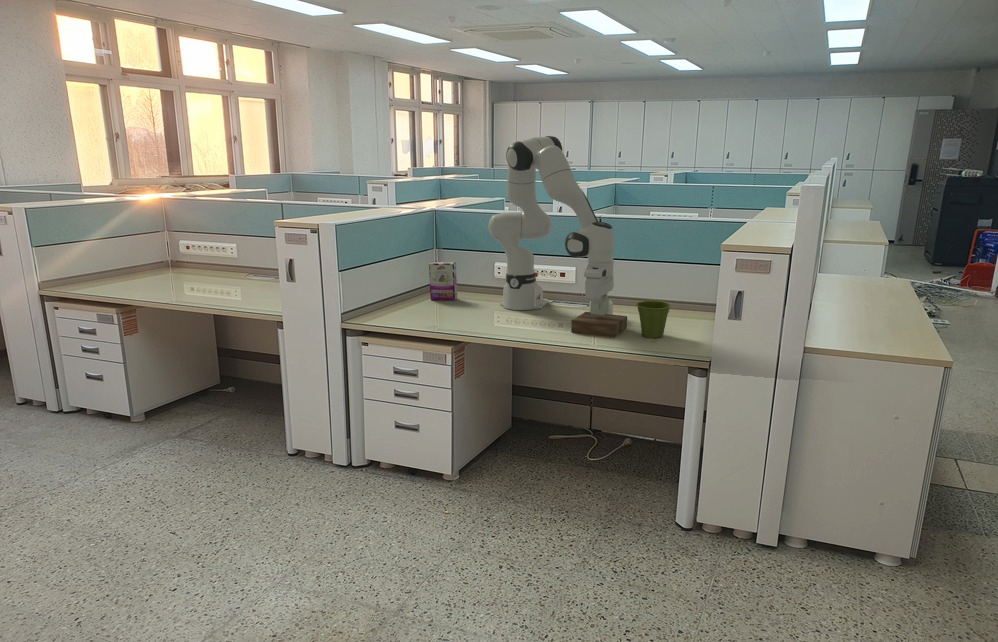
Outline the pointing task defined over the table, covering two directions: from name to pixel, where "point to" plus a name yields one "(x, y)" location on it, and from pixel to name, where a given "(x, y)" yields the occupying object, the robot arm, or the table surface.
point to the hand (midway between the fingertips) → (599, 307)
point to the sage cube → (601, 307)
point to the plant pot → (653, 317)
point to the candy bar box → (443, 281)
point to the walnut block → (599, 324)
